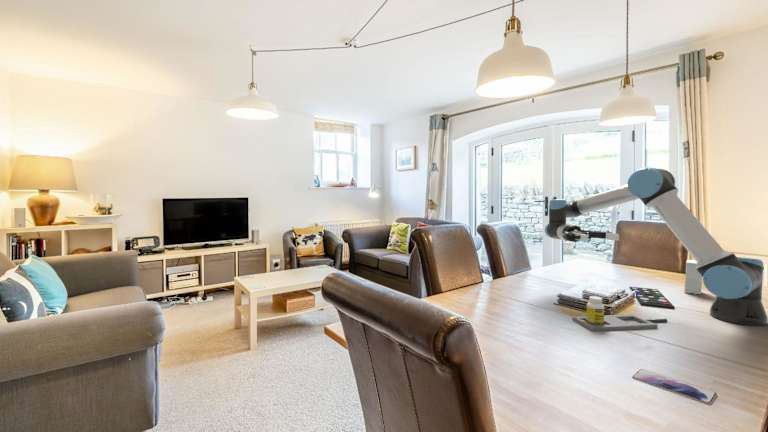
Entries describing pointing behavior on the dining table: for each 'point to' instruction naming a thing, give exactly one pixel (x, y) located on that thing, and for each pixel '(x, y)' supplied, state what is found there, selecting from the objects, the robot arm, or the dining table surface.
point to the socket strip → (619, 322)
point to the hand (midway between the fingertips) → (602, 237)
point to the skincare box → (692, 278)
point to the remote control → (651, 298)
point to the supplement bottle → (595, 311)
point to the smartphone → (676, 386)
